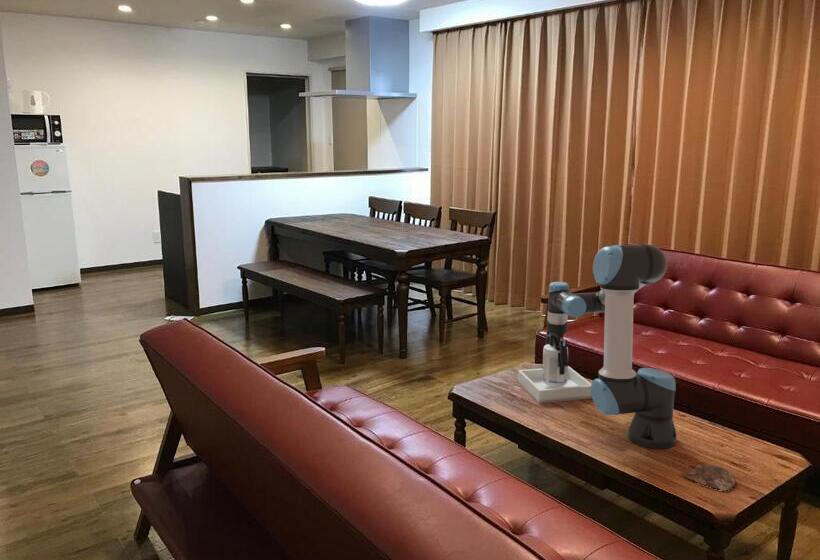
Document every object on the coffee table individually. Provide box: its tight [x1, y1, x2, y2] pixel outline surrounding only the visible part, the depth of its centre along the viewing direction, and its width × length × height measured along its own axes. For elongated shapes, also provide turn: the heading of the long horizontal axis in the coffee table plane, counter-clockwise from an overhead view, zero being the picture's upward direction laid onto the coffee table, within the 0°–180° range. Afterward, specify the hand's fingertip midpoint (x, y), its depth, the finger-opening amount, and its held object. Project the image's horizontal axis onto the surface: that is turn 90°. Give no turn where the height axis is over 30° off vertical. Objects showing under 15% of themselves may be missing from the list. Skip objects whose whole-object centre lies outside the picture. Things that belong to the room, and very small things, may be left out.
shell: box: [684, 464, 736, 491], centre depth 191 cm, size 12×13×4 cm
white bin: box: [517, 365, 592, 404], centre depth 257 cm, size 22×22×5 cm
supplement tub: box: [542, 344, 569, 387], centre depth 255 cm, size 10×10×15 cm
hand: (554, 376), depth 256 cm, fingers closed on supplement tub, 10 cm apart
